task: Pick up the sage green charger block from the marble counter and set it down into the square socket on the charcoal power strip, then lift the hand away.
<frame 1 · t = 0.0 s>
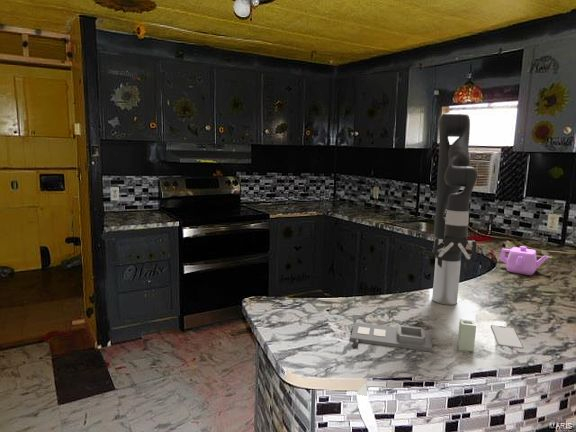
hand: (452, 267, 150), 17 cm above the worktop, tool pointing down, fingers open, 8 cm apart
teakettle: (521, 271, 211), on the worktop
smartphone: (506, 338, 135), on the worktop
charger block: (465, 347, 127), on the worktop
power strip: (390, 337, 133), on the worktop
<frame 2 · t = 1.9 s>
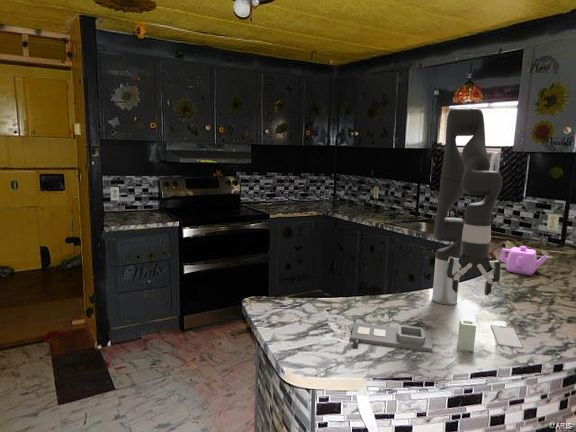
hand: (470, 293, 124), 17 cm above the worktop, tool pointing down, fingers open, 8 cm apart
nothing on the worktop moved.
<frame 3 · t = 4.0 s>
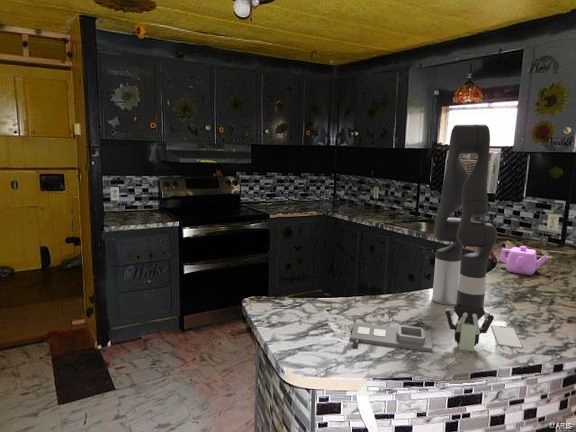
hand: (465, 343, 127), 1 cm above the worktop, tool pointing down, fingers closed on charger block, 4 cm apart
charger block: (465, 347, 127), on the worktop, touching gripper
everything else where it was.
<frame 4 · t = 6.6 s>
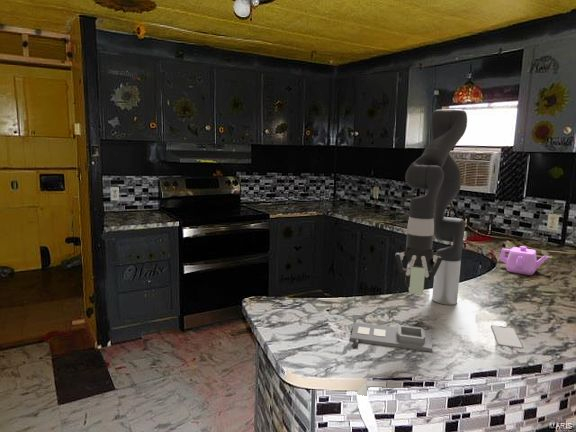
hand: (415, 287, 128), 17 cm above the worktop, tool pointing down, fingers closed on charger block, 4 cm apart
charger block: (415, 291, 128), point 16 cm above the worktop, touching gripper
everything else where it was.
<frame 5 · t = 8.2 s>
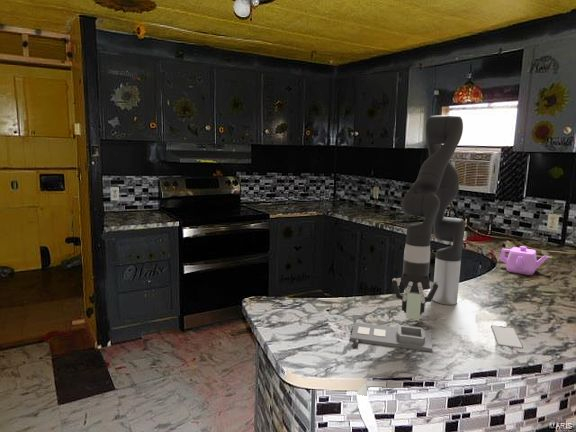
hand: (412, 312, 130), 9 cm above the worktop, tool pointing down, fingers closed on charger block, 4 cm apart
charger block: (412, 316, 130), point 8 cm above the worktop, touching gripper
everything else where it was.
when the fingers open (3 cm above the worktop, at t = 9.7 s): charger block stays where it is, resting on power strip.
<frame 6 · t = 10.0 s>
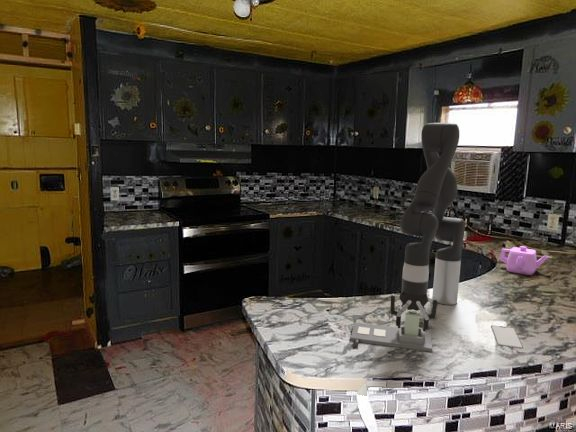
hand: (411, 328, 131), 4 cm above the worktop, tool pointing down, fingers open, 7 cm apart
charger block: (410, 337, 131), point 1 cm above the worktop, touching power strip
everything else where it was.
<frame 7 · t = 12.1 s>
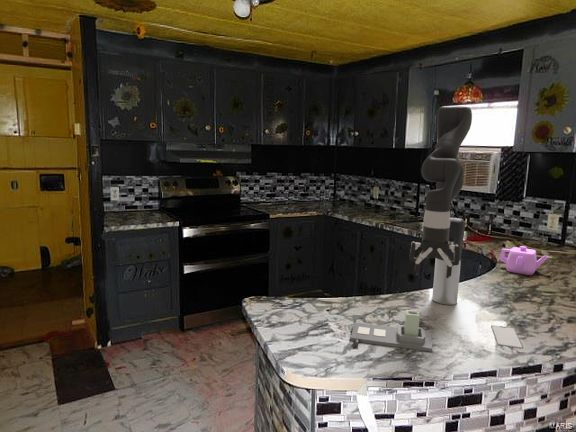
hand: (432, 276, 130), 20 cm above the worktop, tool pointing down, fingers open, 8 cm apart
nothing on the worktop moved.
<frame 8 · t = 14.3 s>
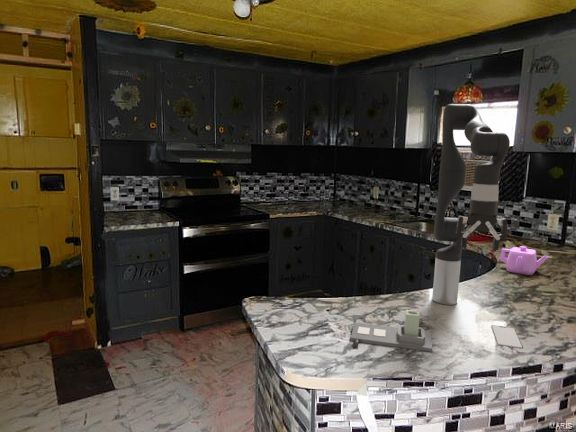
hand: (479, 250, 131), 28 cm above the worktop, tool pointing down, fingers open, 8 cm apart
nothing on the worktop moved.
at the end: charger block 0.0 cm from the target spot on the power strip, point 1.0 cm above the power strip's base; charger block tilted 0°; the gripper is holding nothing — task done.
